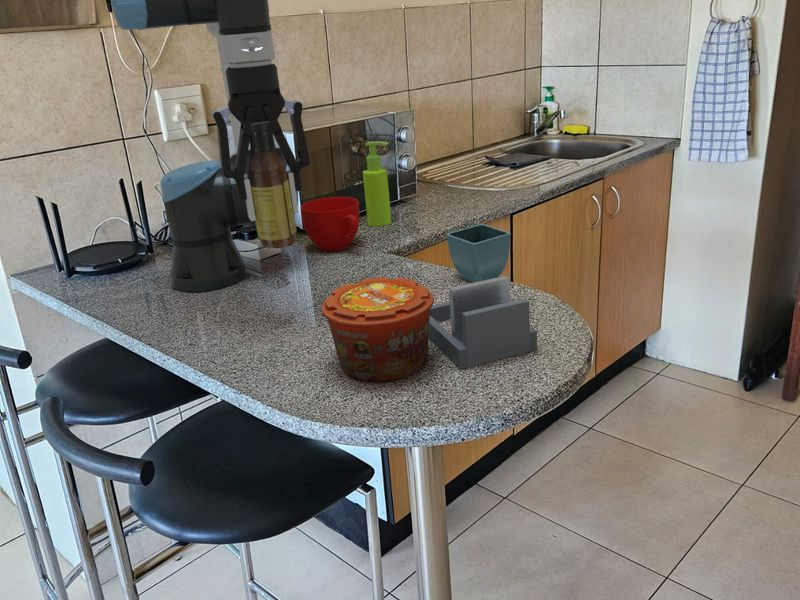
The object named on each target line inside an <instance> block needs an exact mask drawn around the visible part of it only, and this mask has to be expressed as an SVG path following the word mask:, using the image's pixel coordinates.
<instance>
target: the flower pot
mask: <svg viewBox="0 0 800 600" xmlns="http://www.w3.org/2000/svg"><path fill="white" fill-rule="evenodd" d="M445 235H446V241H447V247H448V251H449V254H450V255H449V256H450V259H451V262H452V264H453V266H454V269H455V270H456V271H457V273H458V274H459V275H460V276H461V278H462V279H465V280H467V281H469V282H470V283H475V282H480V281H484V280H489V279H493V278H498V277H501V275H502V273H503V271H504V270H505V267H506V265H507V263H508V259H509V255H510V254H509V253H510V246H511V245H510V244H511V235H512V233H511V232H509V231H506V230H502V229H499V228H497V227H493V226H489V225H487V224H483V223H480V224H476V225H472V226H470V227H469V226H468V227H466V228H462V229H459V230H455V231H451V232H449V233H446V234H445Z"/></svg>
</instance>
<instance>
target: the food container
mask: <svg viewBox="0 0 800 600" xmlns="http://www.w3.org/2000/svg"><path fill="white" fill-rule="evenodd" d="M434 303H435V299H434V294H433V293H432V291H431V290H429V288H428V287H426V286H425V285H421V284H419V282H418V281H416V280H414V279H410V278H404V277H395V278H393V279H389V278H388V277H387V276H386V277H385V276H383V277H372V278H367V279H365V278H364V279H362V280H360V282H358V283H347V284H344V285H341V286H339V287H337V288H336V289H334V290H333V291H332V293H331V295H329V296H327V297H326V299H325V300H324V301H323V302H322V304H321V315H322V317H323V318H324V317H325V320H324V321H325V322H326V321H327V322H328V326H329V330H330V333H331V336H332V340H333V344H334V348H335V351H336V355H337V358H338V361H339V366H340V368H341V371H342V372H343V374H344V375H345V376H347V377H348V378H350V379H352V380H354V381H358V382H361V383H375V384H378V383H388V382H389V383H390V382H396V381H399V380H403V379H405V378H409V377H410V376H412V375H415V374H417V372H420V371H421V370H422V369H423V368H424V367H425V365H426V364H427V362H428V356H429V340H430V339H429V321H430V308H431V307H432V306H433V305H434Z"/></svg>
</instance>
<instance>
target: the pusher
mask: <svg viewBox="0 0 800 600" xmlns="http://www.w3.org/2000/svg"><path fill="white" fill-rule="evenodd" d="M510 282H511V281H510V277H508V276H507V275H504V276H499V277H498V278H493V279H489V280H484V281H480V282H475V283H473V282H469V283H467V284H461V285H457V286H451V287H449V288H448V291H449V302H450V311H451V319H450V325H451V326H450V328H451V335H453V336H454V337H455V338H456V339H457V340H458V341H459V342H460V343H462V344H463V325H462V313H464V312H468V311H472V310H477V309H481V308H486V307H490V306H494V305H499V304H503V303H507V302H511V288H510V287H511V283H510Z"/></svg>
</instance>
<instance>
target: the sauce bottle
mask: <svg viewBox="0 0 800 600" xmlns="http://www.w3.org/2000/svg"><path fill="white" fill-rule="evenodd" d="M272 131H273V129H272V126H271V124H270V121H263V122H256V123H253V124H251V132H252V133H251V137H250V150H251V155H250V165H249V172H248V179H249V180H250V186H251V193H252V199H253V205H254V211H255V217H256V220H255V221H256V223H255V226H256V231H257V237H258V238H259V242H260V244H261V246H262V247H264V248H267V249H277V250H278V249H282V248H285V247H290V246H292V245H293V244H295V243H296V242H297V238H298V235H297V226H296V219H295V215H294V213H293V206H292V200H291V193H290V186H289V180H288V177H287V171H286V166H285V163H284V161H283V159H282V157H281V156H280V155H279V154H278V152H277V151H276V149H275V144H274V138H273V132H272Z"/></svg>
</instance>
